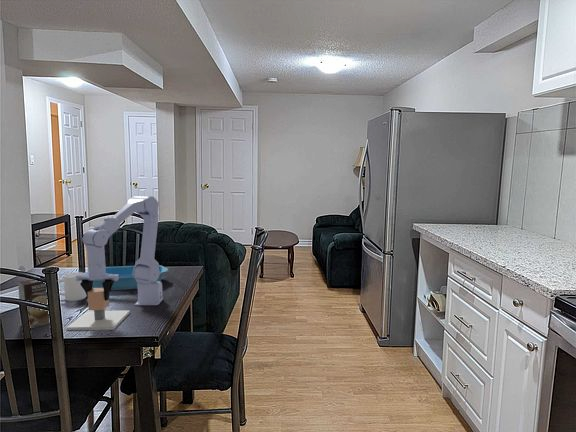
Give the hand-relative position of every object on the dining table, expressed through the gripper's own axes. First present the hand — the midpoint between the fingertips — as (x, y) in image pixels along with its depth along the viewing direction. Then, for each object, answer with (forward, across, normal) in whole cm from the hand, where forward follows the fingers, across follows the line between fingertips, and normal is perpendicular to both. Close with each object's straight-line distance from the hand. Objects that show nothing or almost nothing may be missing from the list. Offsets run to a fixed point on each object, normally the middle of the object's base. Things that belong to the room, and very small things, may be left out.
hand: (98, 299), depth 149 cm
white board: (+8, 0, 0) cm, 8 cm away
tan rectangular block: (+3, 0, 0) cm, 3 cm away
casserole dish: (+8, -6, +46) cm, 47 cm away
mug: (+8, -23, +26) cm, 36 cm away
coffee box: (+8, -21, -2) cm, 23 cm away
